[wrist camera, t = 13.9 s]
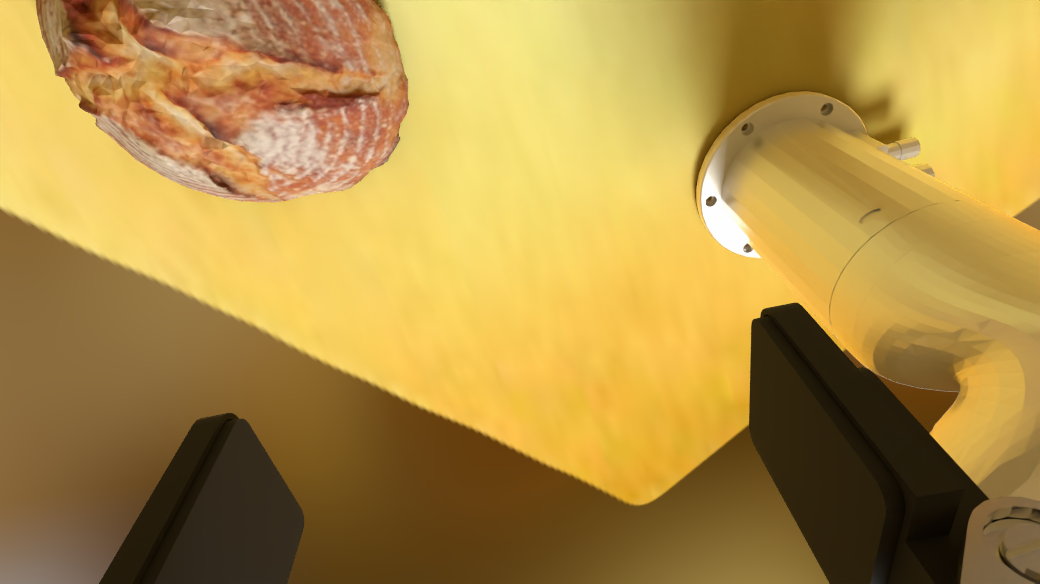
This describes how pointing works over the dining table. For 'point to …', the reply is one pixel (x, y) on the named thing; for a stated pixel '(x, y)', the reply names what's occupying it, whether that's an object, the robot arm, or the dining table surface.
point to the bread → (237, 88)
